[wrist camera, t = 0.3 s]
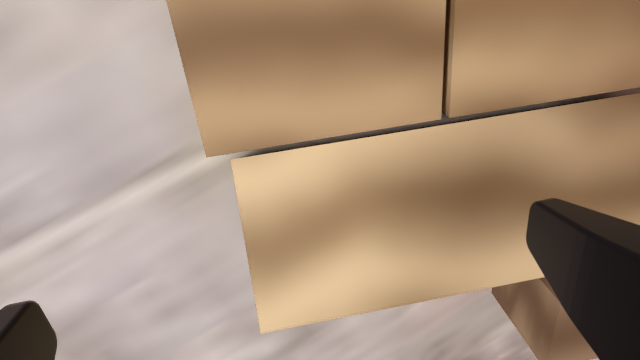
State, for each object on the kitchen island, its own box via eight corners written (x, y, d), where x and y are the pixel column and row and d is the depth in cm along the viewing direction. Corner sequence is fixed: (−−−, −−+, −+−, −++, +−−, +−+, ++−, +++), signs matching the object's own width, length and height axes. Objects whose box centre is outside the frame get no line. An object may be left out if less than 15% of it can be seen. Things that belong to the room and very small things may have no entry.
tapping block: (562, 278, 30) (629, 350, 25) (491, 292, 30) (545, 369, 25) (576, 217, 28) (654, 284, 23) (499, 231, 27) (560, 303, 22)
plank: (636, 247, 24) (662, 253, 22) (261, 321, 22) (260, 333, 21) (616, 97, 24) (641, 92, 22) (233, 160, 22) (230, 159, 20)
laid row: (637, 74, 23) (662, 83, 22) (208, 141, 21) (206, 157, 20) (685, -110, 19) (720, -112, 18) (161, -47, 17) (155, -45, 16)
